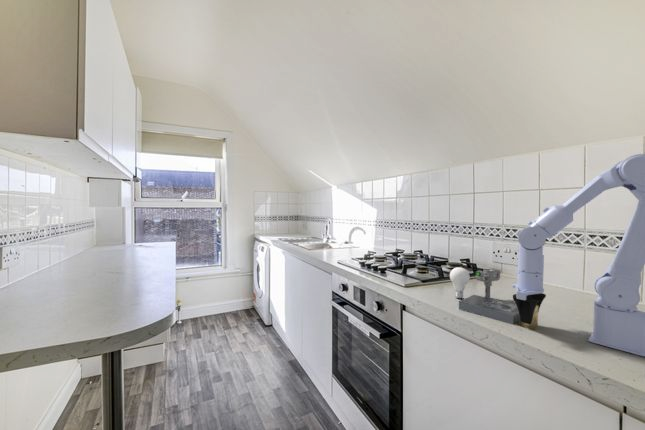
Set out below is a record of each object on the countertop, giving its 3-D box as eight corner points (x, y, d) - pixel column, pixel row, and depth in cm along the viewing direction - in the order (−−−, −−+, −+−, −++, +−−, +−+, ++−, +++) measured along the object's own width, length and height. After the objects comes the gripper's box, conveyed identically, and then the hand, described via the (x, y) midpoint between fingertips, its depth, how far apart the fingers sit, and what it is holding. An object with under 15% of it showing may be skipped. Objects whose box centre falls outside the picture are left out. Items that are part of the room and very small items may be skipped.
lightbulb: (460, 302, 98) (460, 270, 97) (445, 296, 103) (445, 266, 103) (473, 299, 100) (474, 268, 100) (457, 294, 106) (458, 265, 106)
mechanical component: (473, 297, 102) (474, 269, 102) (494, 295, 106) (494, 268, 106) (480, 300, 100) (481, 271, 99) (501, 297, 103) (502, 269, 103)
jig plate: (525, 315, 86) (526, 306, 86) (513, 324, 79) (513, 315, 79) (473, 302, 98) (473, 294, 98) (458, 309, 91) (458, 301, 91)
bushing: (539, 326, 78) (540, 304, 78) (535, 330, 75) (535, 307, 75) (522, 321, 81) (522, 300, 81) (517, 325, 79) (518, 303, 78)
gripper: (521, 265, 86) (520, 310, 86) (503, 272, 76) (502, 322, 77) (551, 269, 80) (549, 317, 81) (535, 277, 71) (534, 331, 71)
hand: (528, 320), depth 78 cm, fingers closed on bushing, 4 cm apart
